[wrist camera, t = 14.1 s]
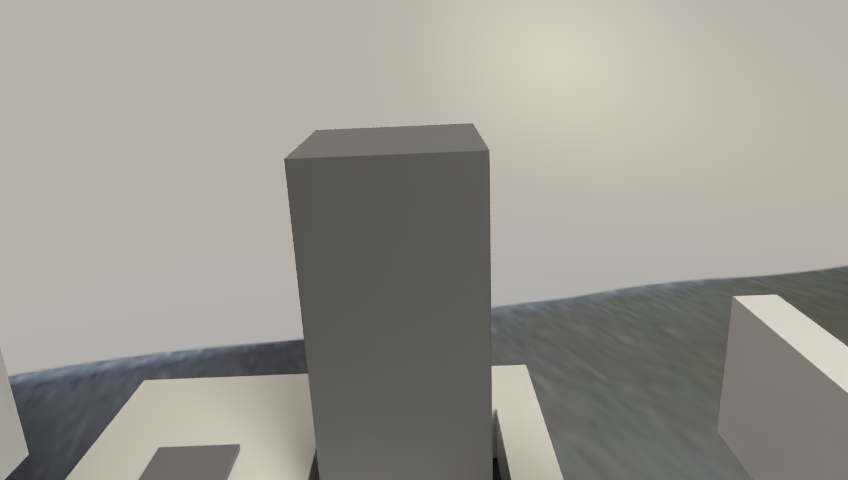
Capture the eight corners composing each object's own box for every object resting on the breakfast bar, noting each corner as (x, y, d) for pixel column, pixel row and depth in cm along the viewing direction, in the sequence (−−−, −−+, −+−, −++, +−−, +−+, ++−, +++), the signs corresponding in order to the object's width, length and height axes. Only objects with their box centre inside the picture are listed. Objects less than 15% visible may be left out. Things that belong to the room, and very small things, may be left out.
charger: (478, 470, 22) (472, 122, 18) (493, 581, 18) (489, 150, 14) (349, 475, 22) (317, 129, 18) (331, 587, 18) (284, 159, 14)
